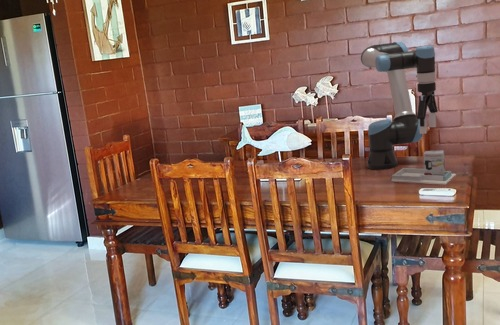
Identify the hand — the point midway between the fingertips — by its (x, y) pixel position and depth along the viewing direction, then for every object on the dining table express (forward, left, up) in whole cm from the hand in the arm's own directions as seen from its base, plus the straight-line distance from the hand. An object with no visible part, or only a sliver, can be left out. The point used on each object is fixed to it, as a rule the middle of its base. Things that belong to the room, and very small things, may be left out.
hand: (428, 130), depth 225 cm
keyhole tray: (+2, -2, -22) cm, 22 cm away
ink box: (+2, +3, -21) cm, 22 cm away
